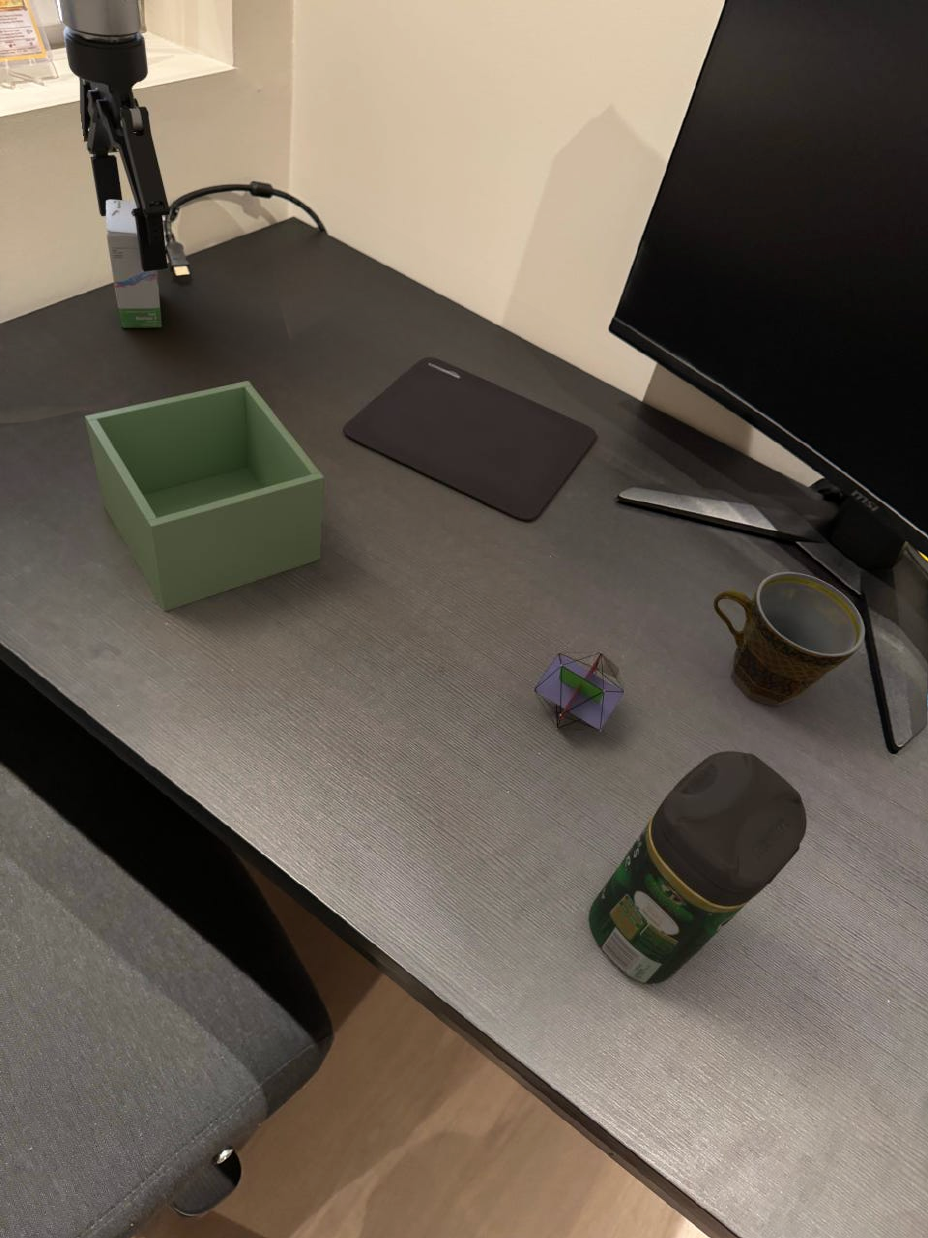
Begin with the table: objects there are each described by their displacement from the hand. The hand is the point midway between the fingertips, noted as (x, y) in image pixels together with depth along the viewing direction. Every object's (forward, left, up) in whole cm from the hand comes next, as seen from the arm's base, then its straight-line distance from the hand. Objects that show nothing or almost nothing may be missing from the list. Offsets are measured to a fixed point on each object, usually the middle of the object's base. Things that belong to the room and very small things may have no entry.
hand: (132, 240), depth 99 cm
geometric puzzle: (+74, +11, -9) cm, 75 cm away
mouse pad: (+37, +26, -9) cm, 46 cm away
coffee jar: (+92, +4, -9) cm, 92 cm away
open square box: (+40, -8, -9) cm, 42 cm away
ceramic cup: (+79, +30, -9) cm, 85 cm away
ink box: (0, 0, -9) cm, 9 cm away
